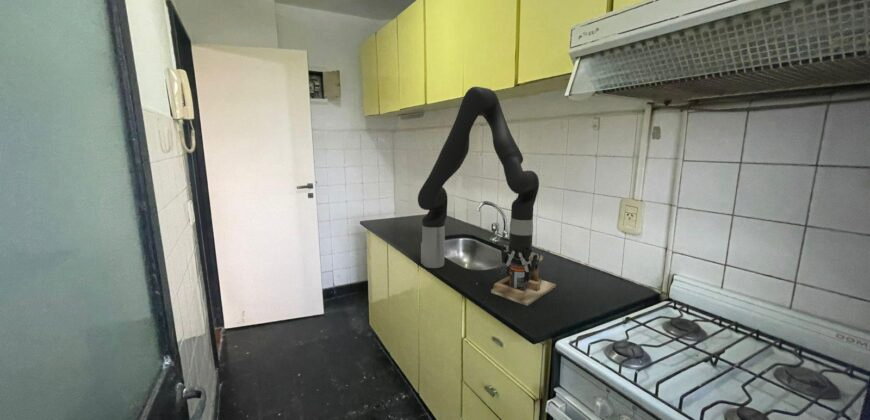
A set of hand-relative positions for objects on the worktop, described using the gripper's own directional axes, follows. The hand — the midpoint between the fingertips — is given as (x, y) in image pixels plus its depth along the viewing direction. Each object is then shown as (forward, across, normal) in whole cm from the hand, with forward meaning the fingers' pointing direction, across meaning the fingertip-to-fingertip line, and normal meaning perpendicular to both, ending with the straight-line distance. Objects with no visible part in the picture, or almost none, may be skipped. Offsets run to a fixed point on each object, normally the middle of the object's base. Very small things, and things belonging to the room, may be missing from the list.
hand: (518, 278), depth 121 cm
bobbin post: (+5, 0, +10) cm, 11 cm away
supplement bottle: (+4, 0, 0) cm, 4 cm away
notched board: (+5, 0, +4) cm, 7 cm away
